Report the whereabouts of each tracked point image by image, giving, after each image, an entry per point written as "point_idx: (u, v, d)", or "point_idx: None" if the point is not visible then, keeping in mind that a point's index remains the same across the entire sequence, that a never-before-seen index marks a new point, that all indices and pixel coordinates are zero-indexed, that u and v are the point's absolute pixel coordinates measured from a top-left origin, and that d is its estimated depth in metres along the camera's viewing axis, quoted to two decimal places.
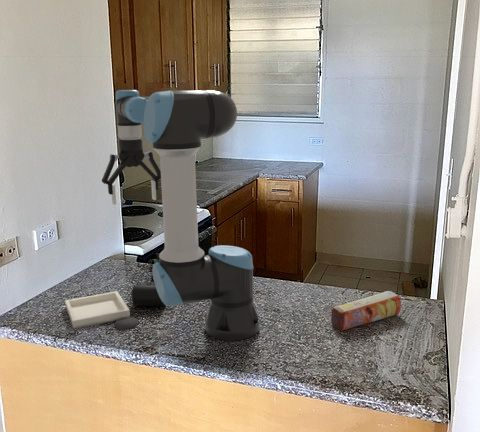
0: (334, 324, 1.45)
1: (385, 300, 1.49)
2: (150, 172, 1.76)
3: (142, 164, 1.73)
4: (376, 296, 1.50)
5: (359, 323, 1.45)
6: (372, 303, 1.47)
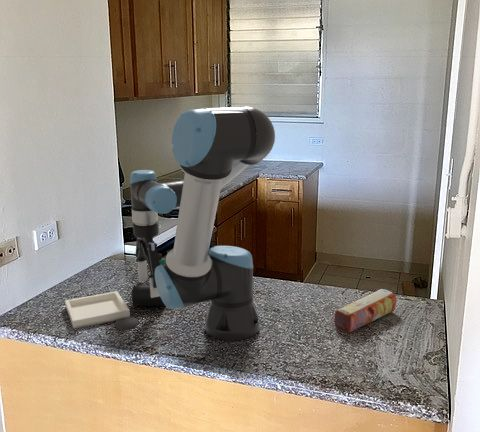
0: (339, 327, 1.44)
1: (383, 298, 1.50)
2: (148, 265, 1.53)
3: (144, 253, 1.55)
4: (373, 295, 1.51)
5: (363, 324, 1.45)
6: (373, 302, 1.47)
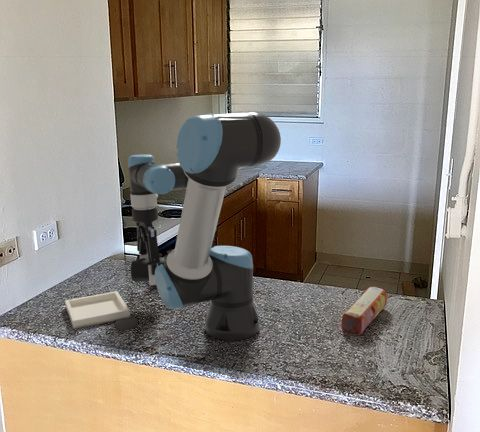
0: (347, 330, 1.42)
1: (378, 296, 1.52)
2: (147, 252, 1.53)
3: (143, 239, 1.54)
4: (368, 294, 1.52)
5: (368, 324, 1.44)
6: (372, 301, 1.48)
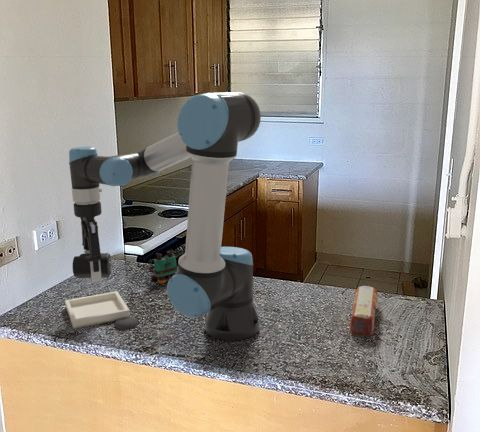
0: (357, 333, 1.40)
1: (373, 294, 1.53)
2: (89, 248, 1.48)
3: (85, 235, 1.48)
4: (363, 293, 1.52)
5: None
6: (372, 300, 1.48)
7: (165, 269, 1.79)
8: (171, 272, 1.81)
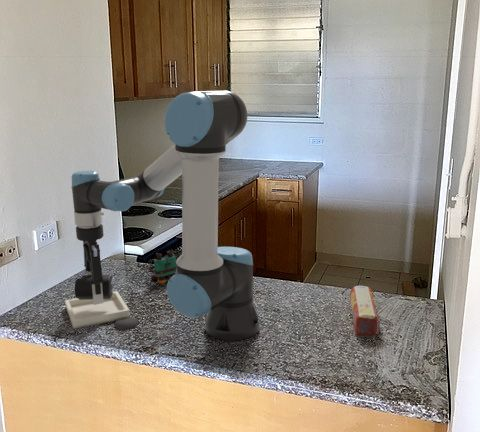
0: (363, 333, 1.40)
1: (370, 293, 1.53)
2: (91, 271, 1.50)
3: (87, 257, 1.50)
4: (361, 293, 1.52)
5: None
6: (371, 300, 1.49)
7: (165, 269, 1.79)
8: (171, 272, 1.81)
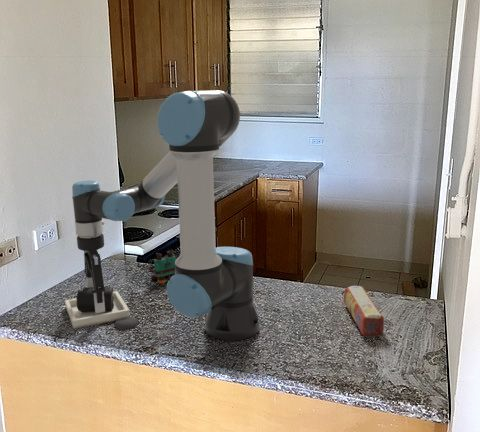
0: (370, 334, 1.40)
1: (366, 293, 1.54)
2: (92, 280, 1.50)
3: (88, 267, 1.51)
4: (358, 294, 1.52)
5: None
6: (370, 300, 1.49)
7: (165, 269, 1.79)
8: (171, 272, 1.81)
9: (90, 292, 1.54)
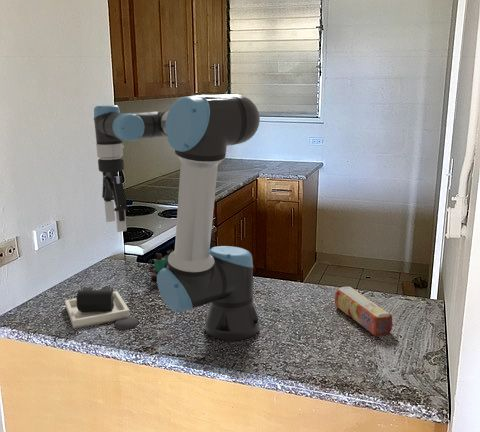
0: (381, 333, 1.40)
1: (359, 293, 1.54)
2: (114, 199, 1.55)
3: (109, 188, 1.56)
4: (353, 294, 1.52)
5: None
6: (368, 299, 1.50)
7: None
8: None
9: (90, 292, 1.54)
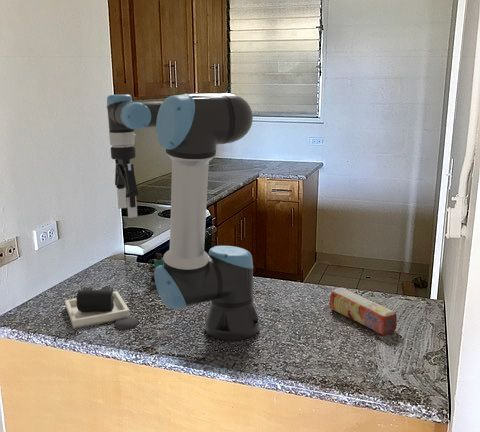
0: (388, 332, 1.41)
1: (354, 293, 1.54)
2: (126, 186, 1.59)
3: (121, 175, 1.61)
4: (350, 295, 1.51)
5: None
6: None
7: None
8: None
9: (90, 292, 1.54)
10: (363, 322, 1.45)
